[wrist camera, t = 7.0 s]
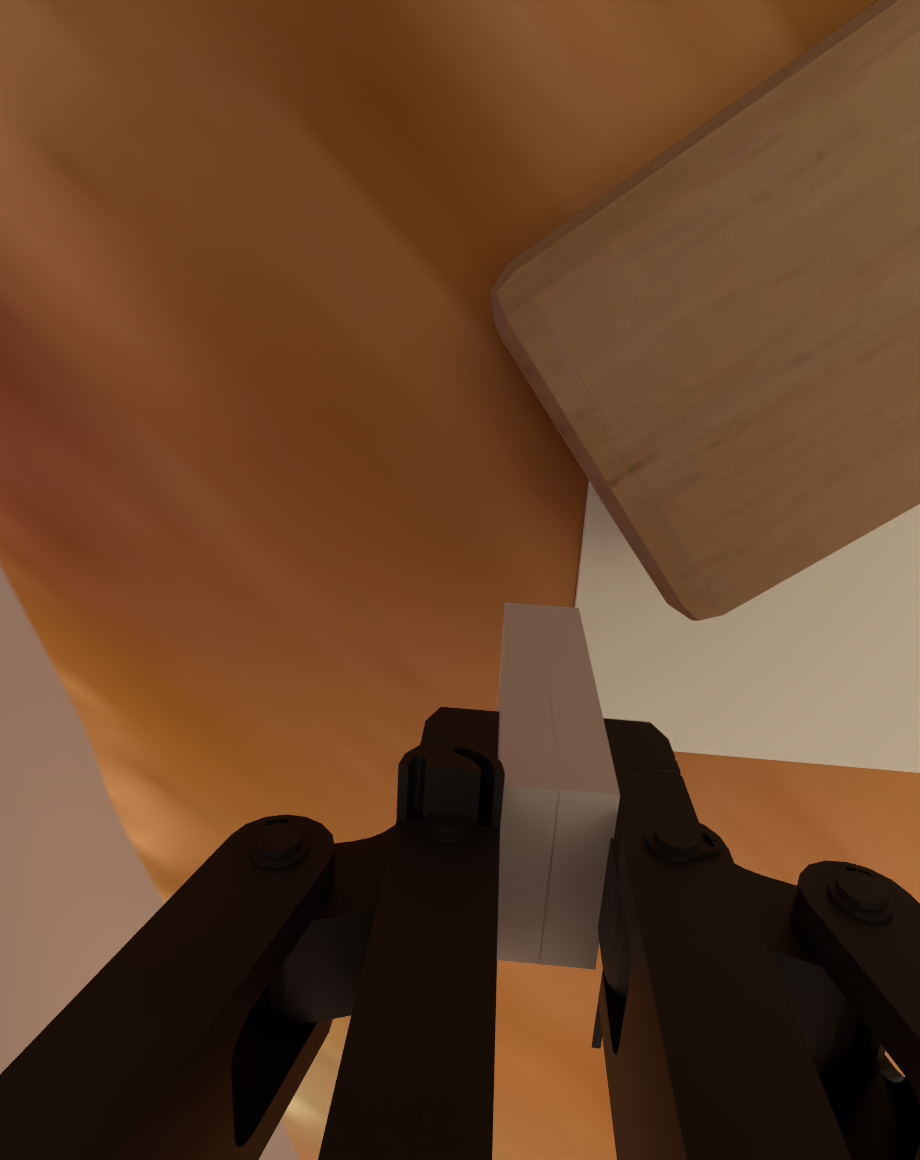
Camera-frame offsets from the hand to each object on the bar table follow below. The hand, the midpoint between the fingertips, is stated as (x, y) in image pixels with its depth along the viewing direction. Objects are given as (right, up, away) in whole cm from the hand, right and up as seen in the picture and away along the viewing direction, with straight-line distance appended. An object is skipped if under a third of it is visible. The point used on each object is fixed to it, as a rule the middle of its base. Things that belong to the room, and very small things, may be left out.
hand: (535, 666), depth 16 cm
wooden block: (+2, +5, +7) cm, 9 cm away
